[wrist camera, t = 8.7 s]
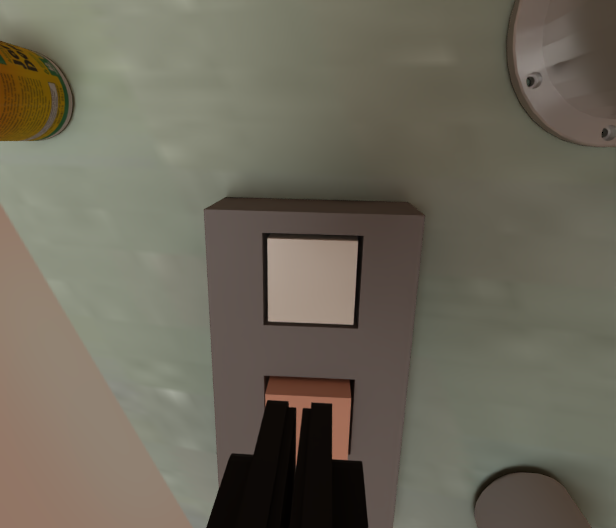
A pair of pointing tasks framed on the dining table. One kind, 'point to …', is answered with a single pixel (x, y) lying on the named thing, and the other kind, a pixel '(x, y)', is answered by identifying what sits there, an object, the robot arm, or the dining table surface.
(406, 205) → the key panel
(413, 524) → the dining table surface
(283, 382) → the terracotta key
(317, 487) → the robot arm
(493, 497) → the can
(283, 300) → the cream key
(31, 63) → the supplement bottle
